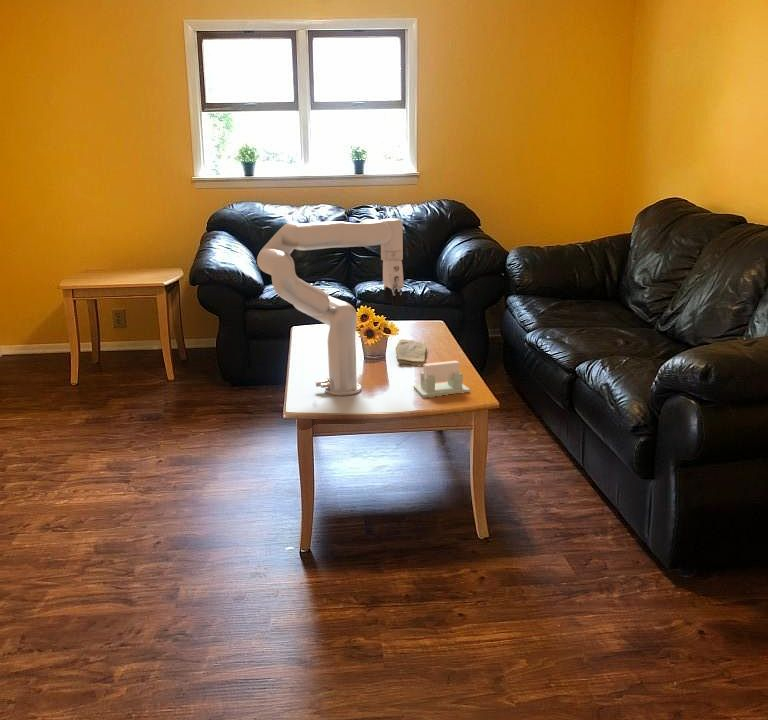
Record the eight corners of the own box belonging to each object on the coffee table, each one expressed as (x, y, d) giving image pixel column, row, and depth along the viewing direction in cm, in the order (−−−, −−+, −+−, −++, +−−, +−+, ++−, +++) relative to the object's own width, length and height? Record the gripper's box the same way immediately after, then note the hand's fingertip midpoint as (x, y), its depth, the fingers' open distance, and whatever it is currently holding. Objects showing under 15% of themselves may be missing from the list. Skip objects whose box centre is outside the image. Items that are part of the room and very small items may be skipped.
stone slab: (425, 338, 319) (426, 356, 290) (425, 348, 320) (426, 366, 291) (396, 338, 319) (394, 356, 290) (396, 347, 320) (394, 366, 291)
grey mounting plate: (422, 398, 255) (422, 380, 254) (413, 389, 265) (413, 371, 263) (469, 392, 260) (470, 374, 258) (458, 383, 269) (459, 366, 267)
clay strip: (456, 376, 264) (456, 360, 262) (458, 379, 262) (459, 362, 260) (423, 380, 261) (423, 363, 259) (426, 382, 258) (426, 365, 257)
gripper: (410, 258, 255) (410, 307, 260) (394, 250, 271) (395, 297, 276) (388, 259, 253) (389, 309, 258) (374, 252, 269) (375, 299, 274)
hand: (392, 303), depth 267 cm, fingers open, 9 cm apart
